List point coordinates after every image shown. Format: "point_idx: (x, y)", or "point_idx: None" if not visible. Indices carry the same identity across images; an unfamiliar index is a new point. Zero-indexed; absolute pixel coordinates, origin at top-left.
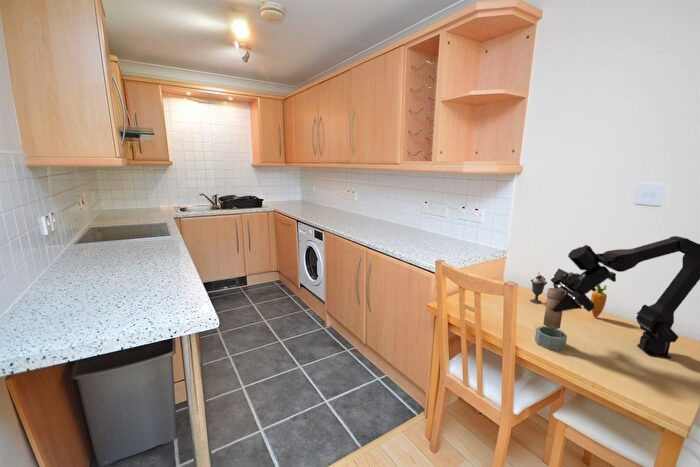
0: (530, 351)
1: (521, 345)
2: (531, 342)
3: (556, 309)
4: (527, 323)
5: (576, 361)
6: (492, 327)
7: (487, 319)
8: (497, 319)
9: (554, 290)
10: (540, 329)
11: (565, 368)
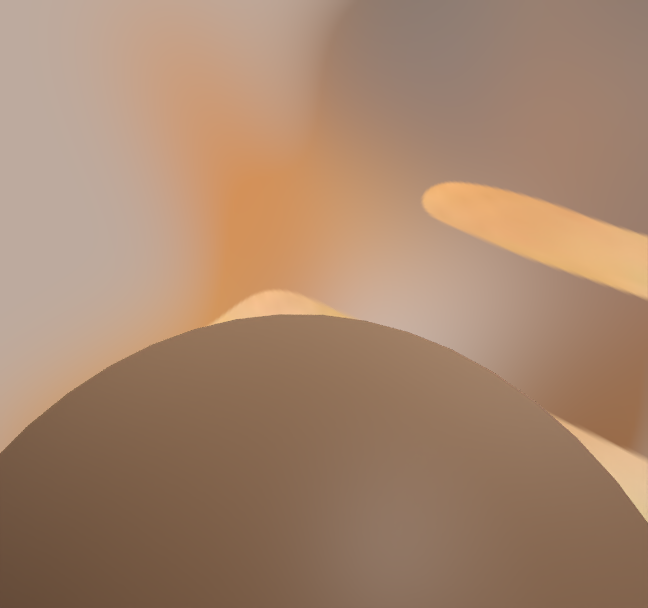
0: (232, 315)
1: (296, 296)
2: None
3: None
4: (637, 499)
5: None
6: (503, 222)
7: (619, 231)
8: (640, 294)
9: (306, 605)
10: None
11: None
